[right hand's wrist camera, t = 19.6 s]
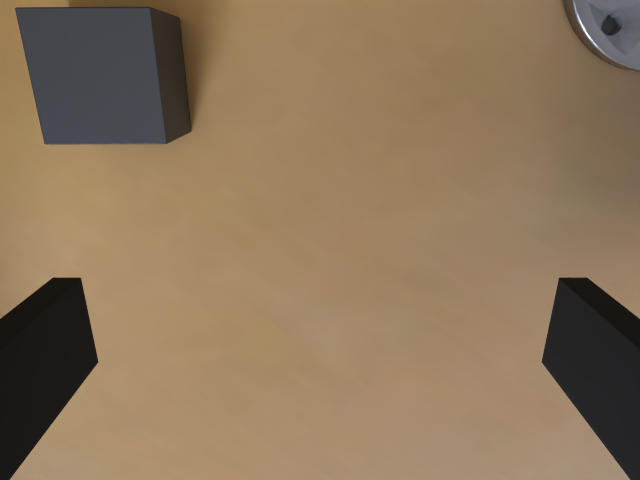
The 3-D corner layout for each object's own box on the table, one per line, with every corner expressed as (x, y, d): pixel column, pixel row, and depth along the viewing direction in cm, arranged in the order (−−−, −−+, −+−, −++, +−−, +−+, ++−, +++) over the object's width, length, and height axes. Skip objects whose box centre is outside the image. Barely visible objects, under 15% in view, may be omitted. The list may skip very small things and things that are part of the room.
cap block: (67, 17, 32) (14, 7, 27) (179, 17, 32) (150, 6, 27) (88, 132, 35) (44, 144, 29) (191, 131, 35) (166, 144, 29)
